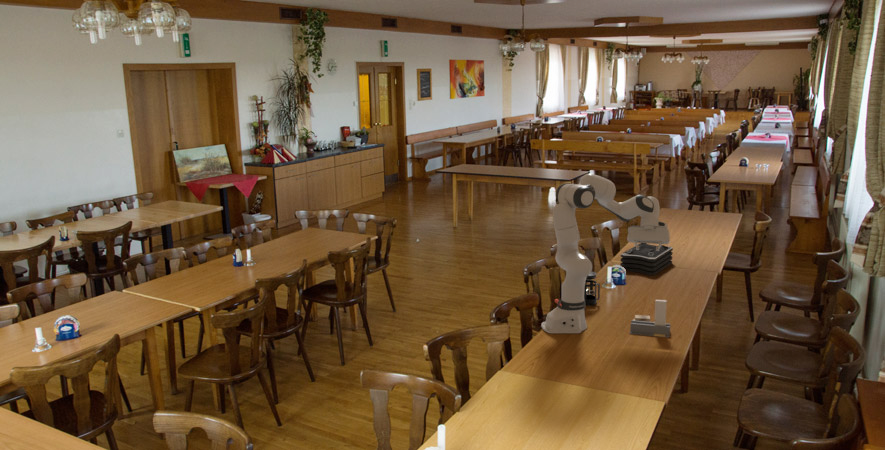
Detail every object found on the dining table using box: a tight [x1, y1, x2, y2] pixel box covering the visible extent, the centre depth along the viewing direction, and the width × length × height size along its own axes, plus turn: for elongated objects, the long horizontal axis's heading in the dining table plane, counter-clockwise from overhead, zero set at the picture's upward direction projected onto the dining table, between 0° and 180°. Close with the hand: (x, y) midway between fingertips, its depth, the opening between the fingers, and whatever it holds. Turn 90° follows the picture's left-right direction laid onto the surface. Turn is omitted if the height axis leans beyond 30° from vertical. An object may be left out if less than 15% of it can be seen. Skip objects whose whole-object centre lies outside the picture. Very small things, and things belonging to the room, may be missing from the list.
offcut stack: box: [632, 314, 651, 322], centre depth 327 cm, size 8×5×5 cm, turn 70°
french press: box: [584, 262, 601, 307], centre depth 364 cm, size 12×9×23 cm
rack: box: [629, 319, 671, 338], centre depth 322 cm, size 18×14×5 cm
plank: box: [654, 299, 668, 326], centre depth 318 cm, size 5×2×16 cm, turn 70°
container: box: [619, 243, 674, 276], centre depth 430 cm, size 22×35×13 cm, turn 142°
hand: (647, 249), depth 329 cm, fingers open, 8 cm apart
